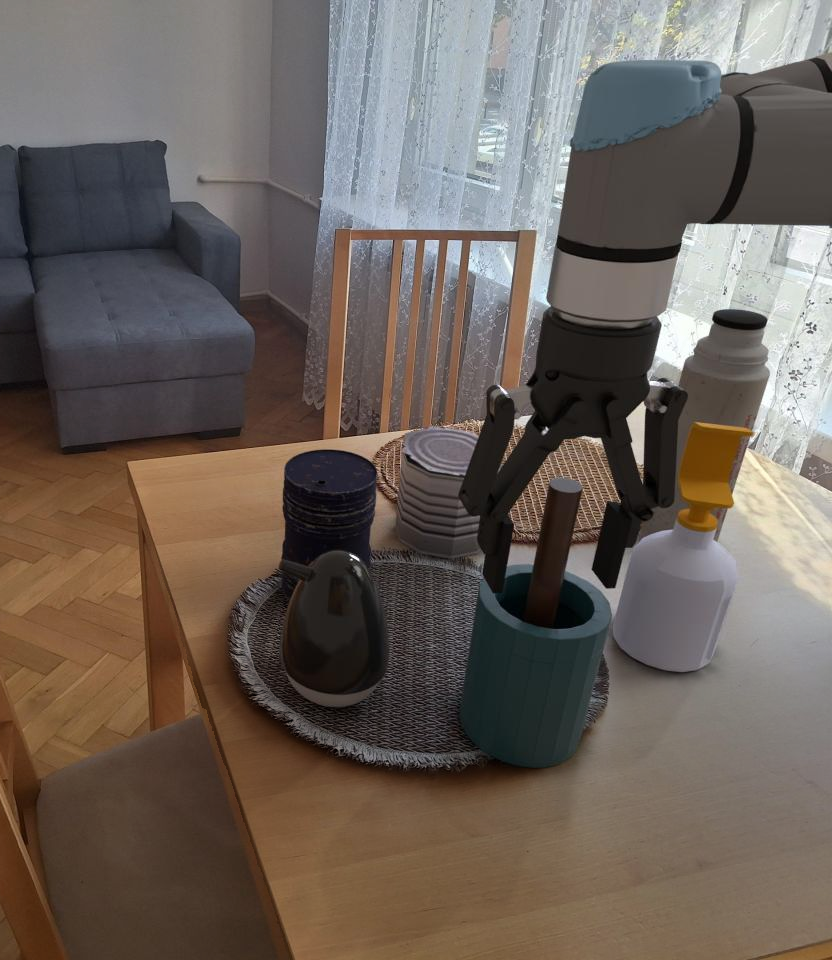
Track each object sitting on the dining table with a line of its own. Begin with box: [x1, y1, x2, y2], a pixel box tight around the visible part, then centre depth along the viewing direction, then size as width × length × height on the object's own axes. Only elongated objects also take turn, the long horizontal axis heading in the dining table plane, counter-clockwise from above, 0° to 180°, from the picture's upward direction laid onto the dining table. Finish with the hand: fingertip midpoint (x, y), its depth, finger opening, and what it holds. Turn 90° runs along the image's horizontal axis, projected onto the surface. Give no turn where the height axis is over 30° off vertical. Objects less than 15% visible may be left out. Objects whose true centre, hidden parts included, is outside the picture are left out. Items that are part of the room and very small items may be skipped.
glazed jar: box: [459, 563, 613, 769], centre depth 74 cm, size 10×10×14 cm
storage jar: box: [280, 448, 378, 602], centre depth 93 cm, size 10×10×15 cm
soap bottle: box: [612, 422, 755, 673], centre depth 80 cm, size 9×9×25 cm
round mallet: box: [523, 477, 584, 629], centre depth 71 cm, size 5×5×24 cm
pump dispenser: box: [278, 549, 390, 708], centre depth 79 cm, size 10×10×15 cm
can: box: [394, 425, 503, 560], centre depth 103 cm, size 11×11×12 cm
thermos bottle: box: [639, 308, 771, 542], centre depth 95 cm, size 8×8×28 cm
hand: (547, 580), depth 70 cm, fingers open, 8 cm apart
